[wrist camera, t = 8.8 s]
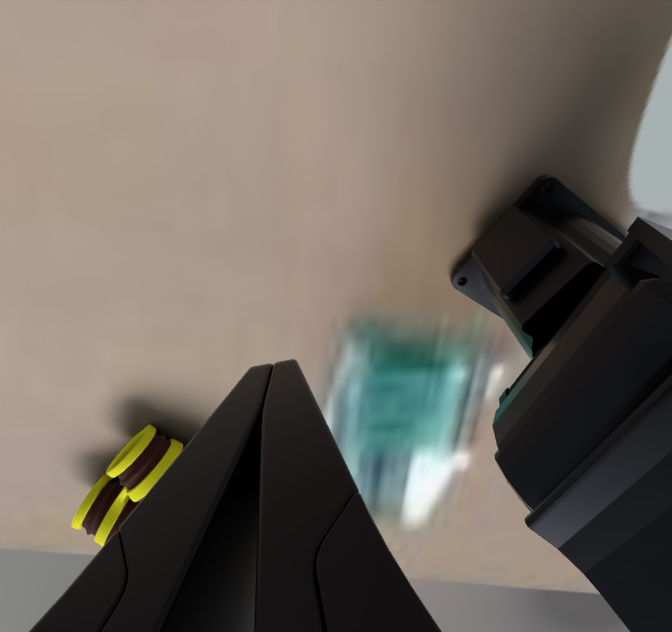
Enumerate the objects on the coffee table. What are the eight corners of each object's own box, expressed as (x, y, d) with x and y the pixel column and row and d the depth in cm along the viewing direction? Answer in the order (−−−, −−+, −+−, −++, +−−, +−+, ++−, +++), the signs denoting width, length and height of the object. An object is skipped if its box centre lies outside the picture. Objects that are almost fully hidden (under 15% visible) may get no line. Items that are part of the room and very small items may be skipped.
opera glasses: (157, 402, 27) (111, 460, 22) (226, 446, 28) (195, 511, 24) (98, 481, 31) (49, 544, 27) (161, 517, 32) (124, 584, 28)
